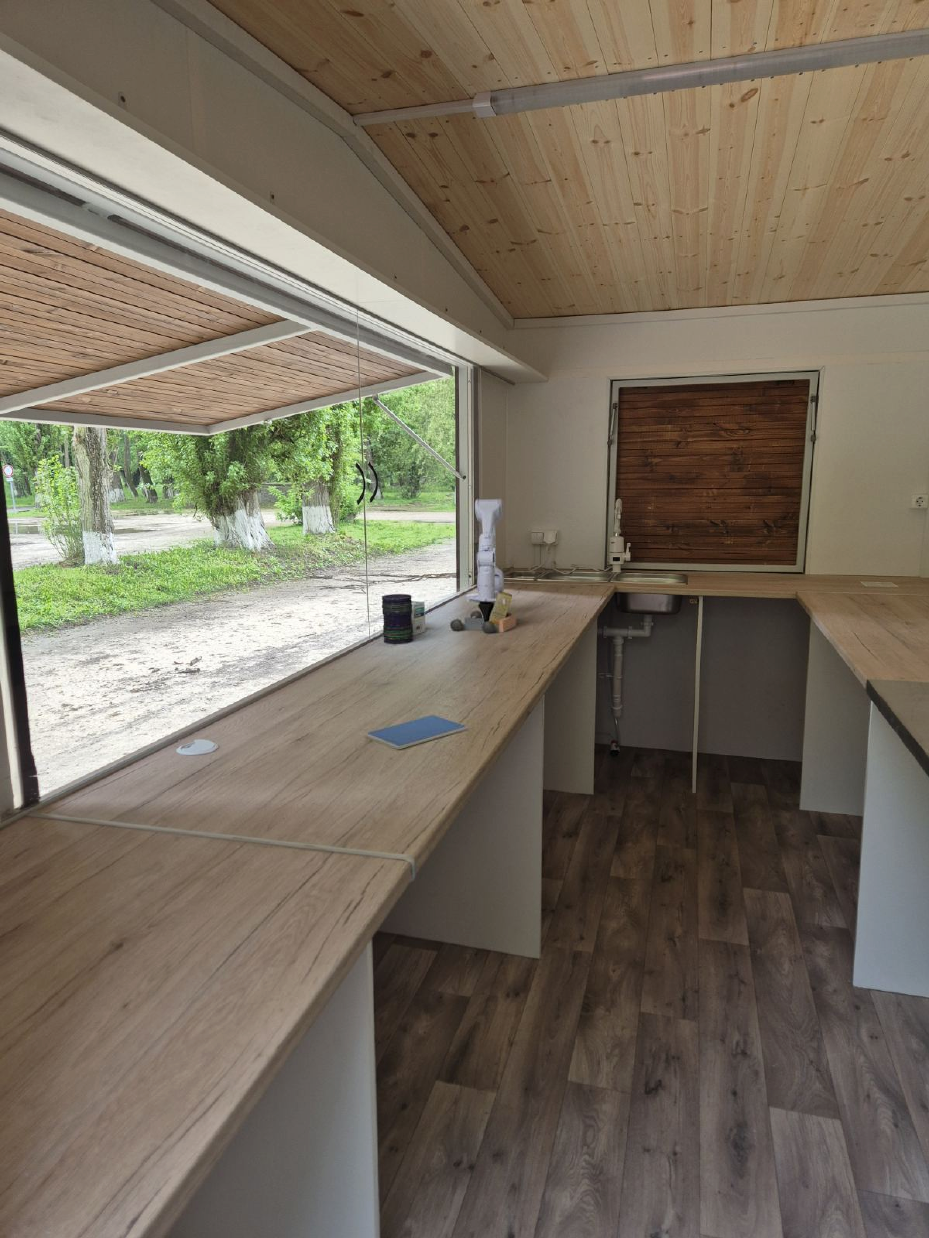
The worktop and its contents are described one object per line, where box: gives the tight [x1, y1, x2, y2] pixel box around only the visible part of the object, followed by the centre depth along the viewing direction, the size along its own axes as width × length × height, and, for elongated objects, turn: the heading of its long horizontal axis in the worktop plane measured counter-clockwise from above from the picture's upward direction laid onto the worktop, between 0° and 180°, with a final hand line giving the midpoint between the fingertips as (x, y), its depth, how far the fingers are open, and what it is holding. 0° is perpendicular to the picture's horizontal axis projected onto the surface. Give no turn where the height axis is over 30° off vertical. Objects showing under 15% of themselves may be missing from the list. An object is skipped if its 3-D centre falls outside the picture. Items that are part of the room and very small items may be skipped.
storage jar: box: [381, 593, 414, 645], centre depth 269 cm, size 10×10×15 cm
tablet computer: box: [364, 714, 469, 750], centre depth 177 cm, size 19×13×1 cm, turn 132°
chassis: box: [450, 610, 517, 634], centre depth 289 cm, size 19×19×4 cm
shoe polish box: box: [489, 591, 513, 626], centre depth 287 cm, size 5×5×12 cm
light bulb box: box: [411, 600, 427, 636], centre depth 283 cm, size 11×7×11 cm, turn 58°
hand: (487, 623), depth 289 cm, fingers closed, pressing on shoe polish box
